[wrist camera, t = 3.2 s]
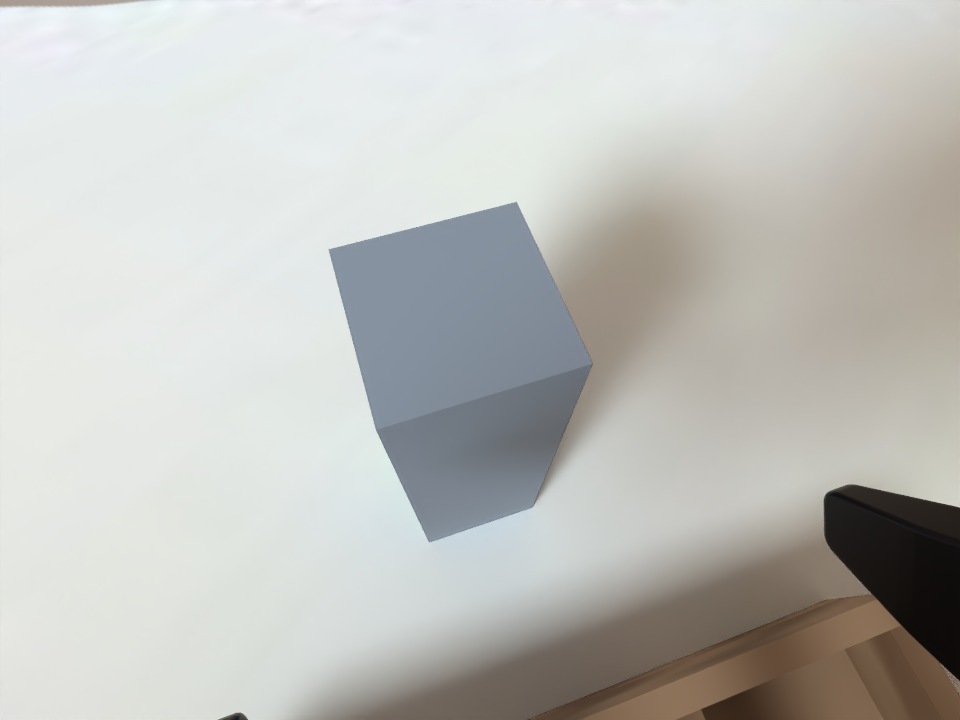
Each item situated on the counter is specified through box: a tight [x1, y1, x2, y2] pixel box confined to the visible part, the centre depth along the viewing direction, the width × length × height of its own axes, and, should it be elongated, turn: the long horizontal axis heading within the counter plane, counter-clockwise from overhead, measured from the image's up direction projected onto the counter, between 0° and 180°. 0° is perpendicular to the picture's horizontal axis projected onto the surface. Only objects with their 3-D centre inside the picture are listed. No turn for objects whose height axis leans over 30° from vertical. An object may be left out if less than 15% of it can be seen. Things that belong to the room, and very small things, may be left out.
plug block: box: [329, 202, 593, 542], centre depth 16 cm, size 4×4×12 cm
